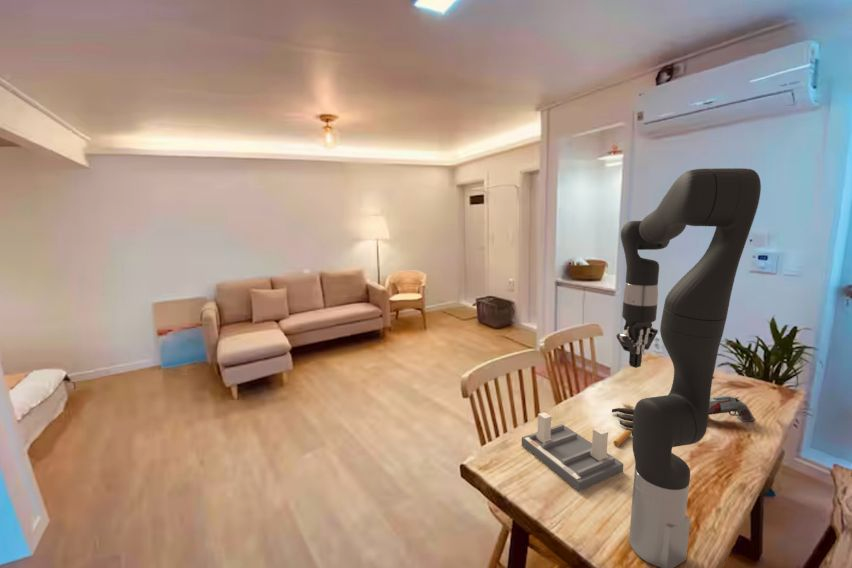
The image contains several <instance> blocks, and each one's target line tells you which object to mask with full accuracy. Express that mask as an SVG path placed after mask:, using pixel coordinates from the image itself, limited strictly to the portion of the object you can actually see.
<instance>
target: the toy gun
mask: <svg viewBox="0 0 852 568" xmlns="http://www.w3.org/2000/svg"><path fill="white" fill-rule="evenodd" d="M739 398H740V397H739V396H736V397H734V396H732V395H726V394H725V395H718V396H714V397H710V406H709V416H710V415H718V414H725V413H726V414H727V413H728V414H729V416H732V417H733V416H735V417H737V419H738V420H739V421H741V423H754V422H755V421H756V419H755V417H754V415H753V413H752V411H751V410H750V409H749V407H748V405H747V404H746V403H744V402H743V401H741V400H740V399H739ZM731 412H733V413H731Z"/></svg>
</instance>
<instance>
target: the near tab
mask: <svg viewBox="0 0 852 568" xmlns="http://www.w3.org/2000/svg"><path fill="white" fill-rule="evenodd" d="M608 438H609V432H608V431H607V430H605V429H603V428H602V427H600V426H598V427H595V428H593V429H592V440H591V443H592V451H591V452H590V455H591V456H592V457H594V458H595V459H597V460H598V461H602V460H605V459H607V458H608V456H607V453H608V440H609V439H608Z"/></svg>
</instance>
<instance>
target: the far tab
mask: <svg viewBox="0 0 852 568" xmlns="http://www.w3.org/2000/svg"><path fill="white" fill-rule="evenodd" d="M551 427H552V416H551V415H550V414H548V413H546V412H545V411H544V412H540V413H537V435H536V438H537V439H538V440H539V441H541V442H542V443H546V442H549V441H551V439H550V436H551Z"/></svg>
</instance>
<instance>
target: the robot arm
mask: <svg viewBox="0 0 852 568" xmlns="http://www.w3.org/2000/svg"><path fill="white" fill-rule="evenodd" d="M761 185H762V184H761V179H760V175H759V173H758V172H756V170H754V169H751V168H742V167H741V168H737V167H736V168H735V167H732V168H727V167H726V168H696V169H691V170H687V171H686V172H684V173H682V174H681V175H680V176H679V177H677V179H675V181H674V183H672V185H671V186H670V188H669V189H668V191H667V192H666V194H665V195H664V196H663V198H662V200H661V201H660V202H659V204H658V206H657V207H656V209H654V210H653V211H652V212H650V213H649V214H648V215H646V216H645V217H644V218H643V219H642V220H632V221H631V220H629V221H627V222H626V223H625V224H623V226H622V229H621V230H620V239H621V244H622V248H623V250H624V251H623V252H624V255H625V265H626V270H625V271H626V272H625V285H624V290H623V299H622V314H621V316H622V319H624V320H625V323H624V326H623V331H622V333H617V334H616V338H617V340H618V342H619V344H620V346H621V347H622V350H624V351H626V352H627V353H629V356H628V357H629V359H628V363H629V366H630V367H632V368H634V369H635V368H636V369H637V368H639V367H641V366H642V357H643V354H644V353H645V350H646V351H648V350H649V349H650V347H651V346H652V344H653V341H654V340H655V338H656V336H657V334H658V333H659V332H658V329H656V328H654V327H653V323H654V322H656V320H657V311H658V300H659V276H660V275H659V273H660V264H659V262H658V261H656V260H654V259H649V258H644V257H642V256H640V254H639V252H638V251H639V250H641V251H644V250H645V251H646V250H649V251H651V250H652V251H653V250H656V251H657V250H662V249H665V248H667V247H668V245H669V244H670V242H671V240H672V239H675V238H676V237H678V236H679V235H681V234H682V233H683V232H684V231H685V229H686V227H687V226H692V227H715V230H714V232H713V236H712V238H711V241H710V243H709V245H708V247H707V249H706V251H705V252H704V254H703V255H702V256H701V258H700V259H699V260H698V262H697V263H696V264H695V265H694V266H693V267H692V268H691V269H690V270H688V271H687V272H686V273H685V274H684V275H683V276H682V277H681V279H679V280H678V281H677V283H676V284H675V285H674V286H672V288H671V289H670V291H668V294H667V295H666V297H665V299H664V305H663V311H662V314H661V320H660V329H659V330H660V336H661V337H660V338H661V341H662V343H663V346H664V347H665V349H666V352H667V354H668V356H669V358H670V359H671V362H672V364H673V380H672V383H671V388H670V391H669V393H668V394H667V395H660V396H653V397H645V398H644V397H643V398H642V399H640V400H638V401H637V403H636V404H635V407H634V414H633V415H632V416H633V422H632V423H633V429H632V430H633V436H632V453H633V457H634V476H633V488H632V499H631V510H630V511H631V512H630V525H629V526H630V527H629V534H628V535H629V536H628V540H629V541H628V542H629V546H630V547H631V549H632V550H633V552H635V554H636V555H637V556H638V557H639V558H641V559H642V560H644V562H646V563H648V564H650V565H653V566H655V567H658V568H677V566H679V565H680V564H682V563H684V562H685V561H687V553H688V546H689V545H688V544H689V536H690V535H689V534H690V527H691V518H690V517H689V516H687V507H688V498H689V492H690V491H689V489H690V480H691V469H690V467H689V465H688V464H687V462H685V460H684V459H682V458H681V457H680V456H678V455H676V454H675V453H673V451H672V450H673V448H678V447H682V446H689V445H694V444H696V443H698V442H700V441H701V440H702V439H703V438H704V437H705V435H706V432H707V429H708V424H709V417H710V415H709V406H710V398H711V394H712V392H711V391H712V384H713V383H712V382H713V378H714V375H715V369H716V368H715V367H716V363H717V360H718V359H717V358H718V353H719V348H720V345H721V341H722V338H723V335H724V331H725V327H726V323H727V317H728V312H729V307H730V301H731V296H732V292H733V289H734V288H733V286H734V283H735V279H736V275H737V271H738V267H739V263H740V261H741V258H742V255H743V253H744V249H745V246H746V243H747V240H748V237H749V234H750V232H751V229H752V227H753V226H752V225H753V223H754V220H755V217H756V214H757V211H758V210H757V209H758V207H759V203H760V197H761V190H762V186H761Z"/></svg>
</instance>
